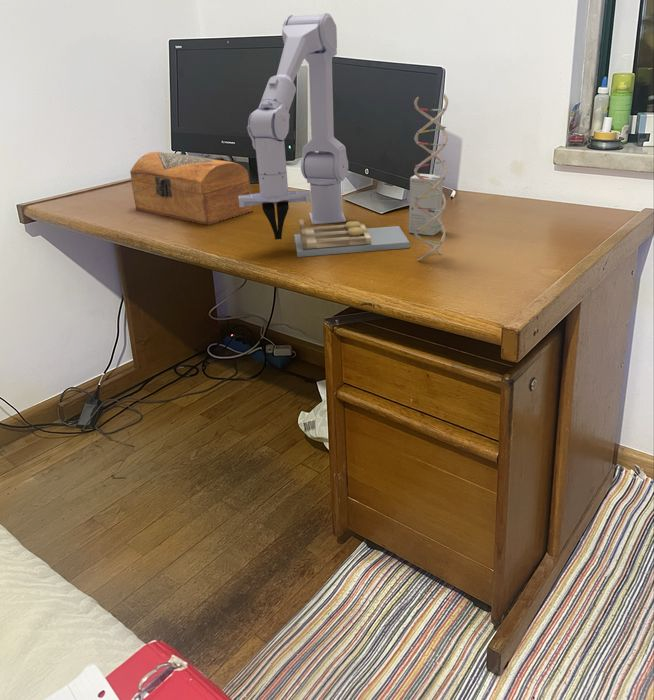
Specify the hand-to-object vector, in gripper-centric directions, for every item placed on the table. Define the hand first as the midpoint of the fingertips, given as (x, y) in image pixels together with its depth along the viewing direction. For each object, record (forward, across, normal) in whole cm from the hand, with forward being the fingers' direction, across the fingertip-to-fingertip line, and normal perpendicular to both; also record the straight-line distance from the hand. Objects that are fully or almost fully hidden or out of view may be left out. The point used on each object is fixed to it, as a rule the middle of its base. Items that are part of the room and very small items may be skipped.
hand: (278, 238), depth 143 cm
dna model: (+3, +29, -13) cm, 32 cm away
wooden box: (+3, -22, +39) cm, 44 cm away
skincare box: (+3, +32, +4) cm, 32 cm away
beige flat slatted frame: (+1, +12, 0) cm, 12 cm away
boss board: (+2, +15, 0) cm, 15 cm away
